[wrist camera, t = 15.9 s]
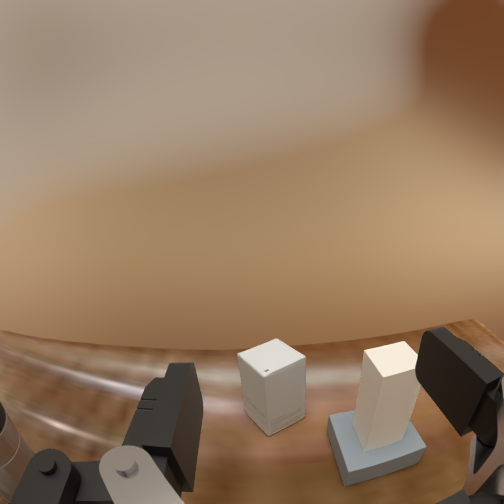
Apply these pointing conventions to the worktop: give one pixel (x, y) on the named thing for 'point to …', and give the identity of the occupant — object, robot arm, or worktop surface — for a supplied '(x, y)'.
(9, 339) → the worktop surface
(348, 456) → the plinth
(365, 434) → the cream block
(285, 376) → the supplement box
